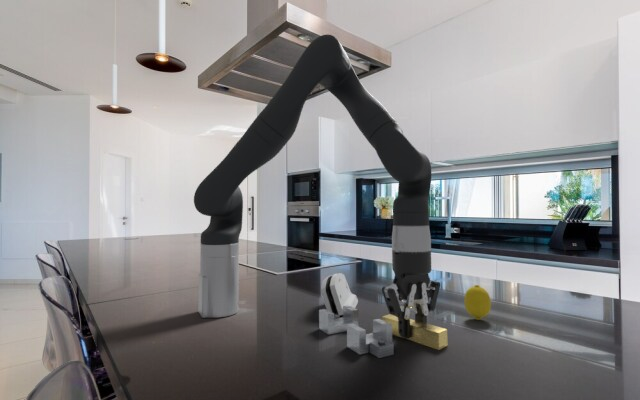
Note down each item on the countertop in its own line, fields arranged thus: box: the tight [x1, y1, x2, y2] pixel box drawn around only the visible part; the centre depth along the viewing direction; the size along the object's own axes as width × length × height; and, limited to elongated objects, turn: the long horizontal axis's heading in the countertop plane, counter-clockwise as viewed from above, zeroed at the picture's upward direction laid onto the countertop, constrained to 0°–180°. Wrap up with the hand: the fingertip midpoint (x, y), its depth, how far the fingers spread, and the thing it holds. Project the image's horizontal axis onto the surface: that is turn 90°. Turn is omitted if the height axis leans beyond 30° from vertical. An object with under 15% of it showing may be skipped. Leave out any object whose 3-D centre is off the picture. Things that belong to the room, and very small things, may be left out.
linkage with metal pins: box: [318, 305, 394, 359], centre depth 67 cm, size 7×21×4 cm, turn 28°
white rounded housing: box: [320, 272, 359, 316], centre depth 87 cm, size 17×5×10 cm, turn 167°
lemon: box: [464, 284, 492, 321], centre depth 78 cm, size 6×6×8 cm
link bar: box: [381, 313, 449, 351], centre depth 67 cm, size 3×13×3 cm, turn 40°
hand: (412, 334), depth 67 cm, fingers closed on link bar, 3 cm apart
